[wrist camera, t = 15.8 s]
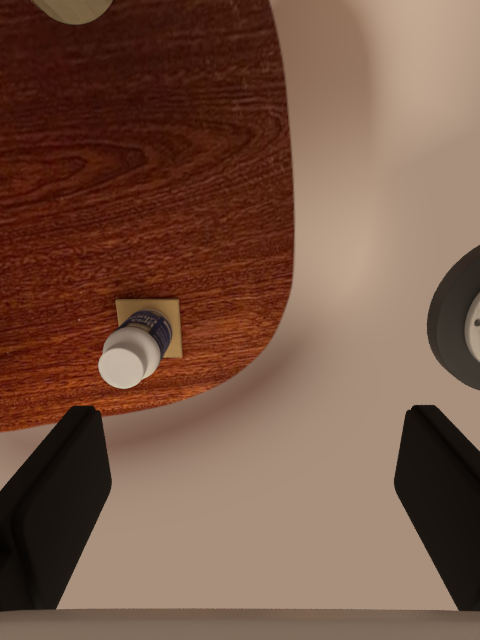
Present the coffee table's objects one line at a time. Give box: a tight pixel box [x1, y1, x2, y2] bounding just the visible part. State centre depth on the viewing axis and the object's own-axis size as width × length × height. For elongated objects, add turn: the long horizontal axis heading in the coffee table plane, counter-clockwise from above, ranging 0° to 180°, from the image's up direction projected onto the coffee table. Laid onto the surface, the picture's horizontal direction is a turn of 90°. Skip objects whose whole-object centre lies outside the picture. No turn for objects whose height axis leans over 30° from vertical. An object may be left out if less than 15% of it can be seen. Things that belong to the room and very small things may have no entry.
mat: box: [116, 299, 183, 357], centre depth 39 cm, size 7×7×1 cm
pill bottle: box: [99, 309, 173, 389], centre depth 34 cm, size 5×5×10 cm
